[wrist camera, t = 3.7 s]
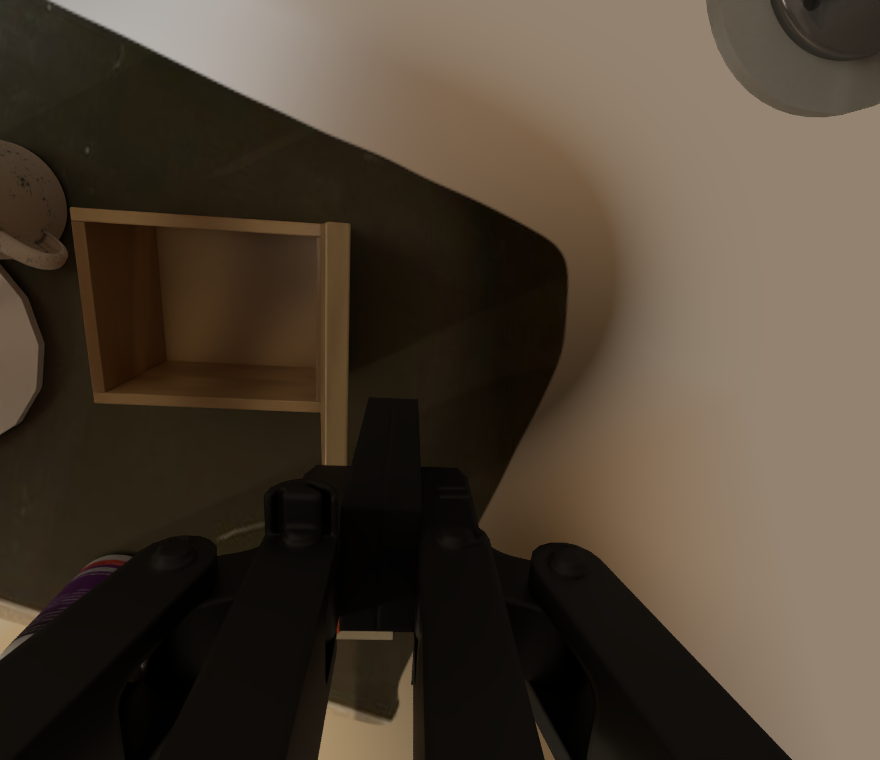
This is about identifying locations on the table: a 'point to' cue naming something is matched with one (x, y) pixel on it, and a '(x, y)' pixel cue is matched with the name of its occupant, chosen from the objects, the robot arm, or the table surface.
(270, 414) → the table surface
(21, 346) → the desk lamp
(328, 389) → the wooden box lid
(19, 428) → the table surface
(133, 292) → the lid box
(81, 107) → the table surface
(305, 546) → the robot arm
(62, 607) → the pill bottle
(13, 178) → the teacup with lid
